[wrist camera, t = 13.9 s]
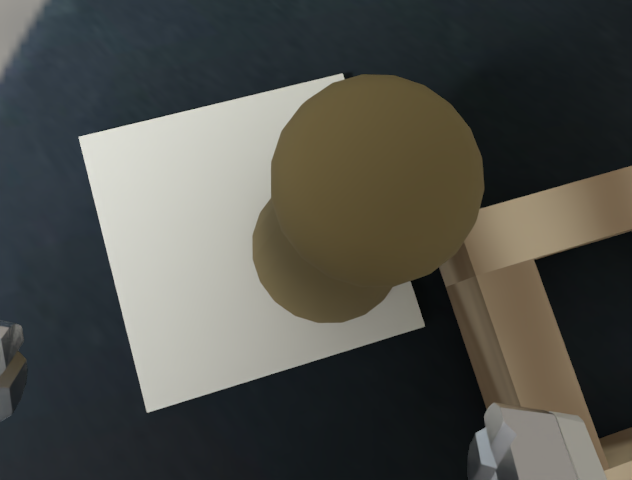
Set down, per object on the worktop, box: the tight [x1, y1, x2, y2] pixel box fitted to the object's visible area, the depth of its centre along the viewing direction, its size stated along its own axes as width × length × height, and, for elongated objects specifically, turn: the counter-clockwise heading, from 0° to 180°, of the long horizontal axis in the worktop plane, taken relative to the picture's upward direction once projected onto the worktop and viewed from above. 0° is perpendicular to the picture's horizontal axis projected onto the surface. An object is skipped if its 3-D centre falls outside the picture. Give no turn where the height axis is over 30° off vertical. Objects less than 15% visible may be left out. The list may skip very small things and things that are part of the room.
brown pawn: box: [252, 74, 484, 323], centre depth 19 cm, size 6×6×11 cm
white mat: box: [79, 73, 425, 413], centre depth 24 cm, size 11×11×1 cm
